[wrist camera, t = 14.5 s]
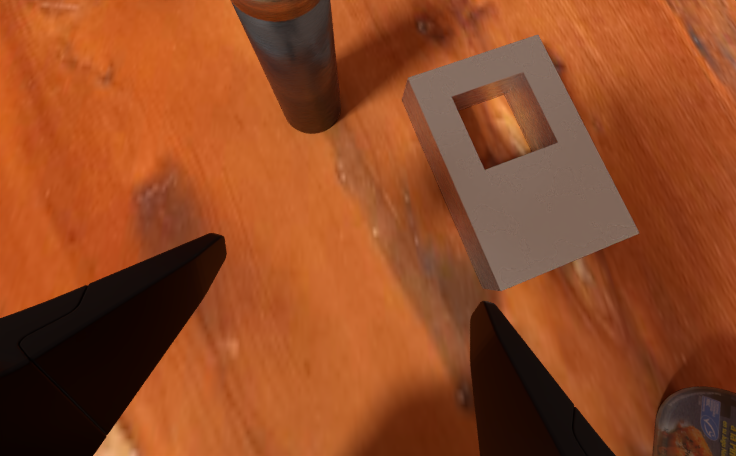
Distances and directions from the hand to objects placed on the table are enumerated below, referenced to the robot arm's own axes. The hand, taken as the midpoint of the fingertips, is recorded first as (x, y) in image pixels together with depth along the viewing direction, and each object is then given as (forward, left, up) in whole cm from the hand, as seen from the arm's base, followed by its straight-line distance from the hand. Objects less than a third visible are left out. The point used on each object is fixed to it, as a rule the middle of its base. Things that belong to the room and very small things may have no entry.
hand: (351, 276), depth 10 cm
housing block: (+15, +4, -14) cm, 21 cm away
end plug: (+2, +15, -14) cm, 20 cm away
